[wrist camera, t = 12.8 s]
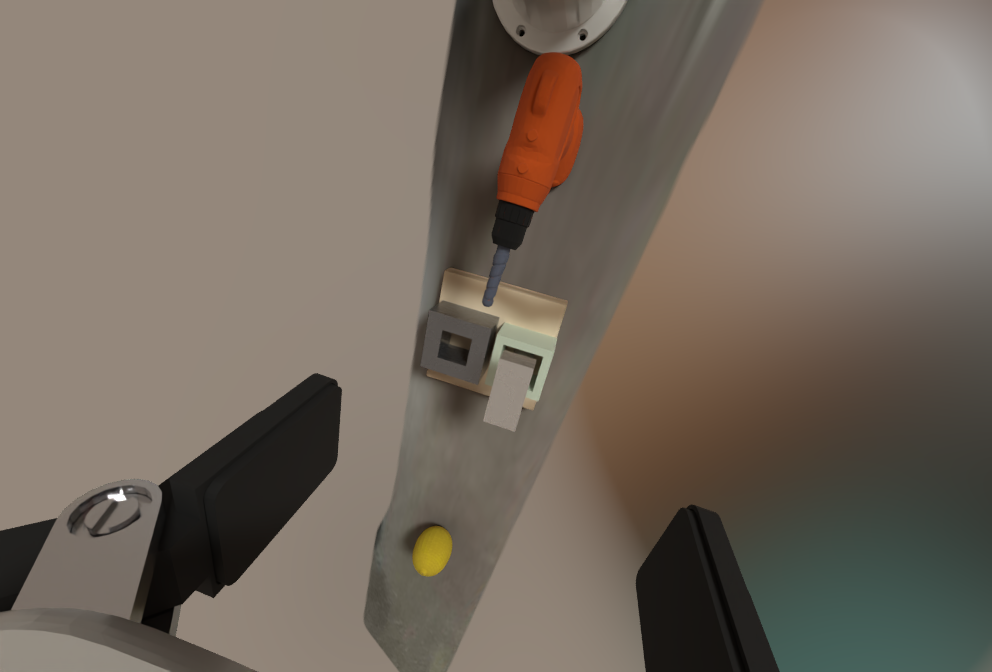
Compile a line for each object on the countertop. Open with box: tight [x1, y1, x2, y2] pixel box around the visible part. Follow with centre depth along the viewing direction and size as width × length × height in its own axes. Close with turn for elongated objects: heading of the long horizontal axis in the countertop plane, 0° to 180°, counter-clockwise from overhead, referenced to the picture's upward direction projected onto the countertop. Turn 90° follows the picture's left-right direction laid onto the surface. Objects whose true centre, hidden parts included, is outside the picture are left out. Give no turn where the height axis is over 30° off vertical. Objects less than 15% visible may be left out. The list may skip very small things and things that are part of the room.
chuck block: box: [420, 300, 500, 385], centre depth 43 cm, size 7×7×4 cm
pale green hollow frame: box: [485, 322, 557, 401], centre depth 42 cm, size 6×6×4 cm
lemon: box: [413, 526, 452, 576], centre depth 56 cm, size 6×6×8 cm
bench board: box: [426, 267, 568, 410], centre depth 45 cm, size 14×14×2 cm
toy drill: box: [482, 52, 583, 307], centre depth 32 cm, size 5×19×15 cm, turn 164°
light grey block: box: [483, 348, 537, 432], centre depth 39 cm, size 7×3×10 cm, turn 167°
